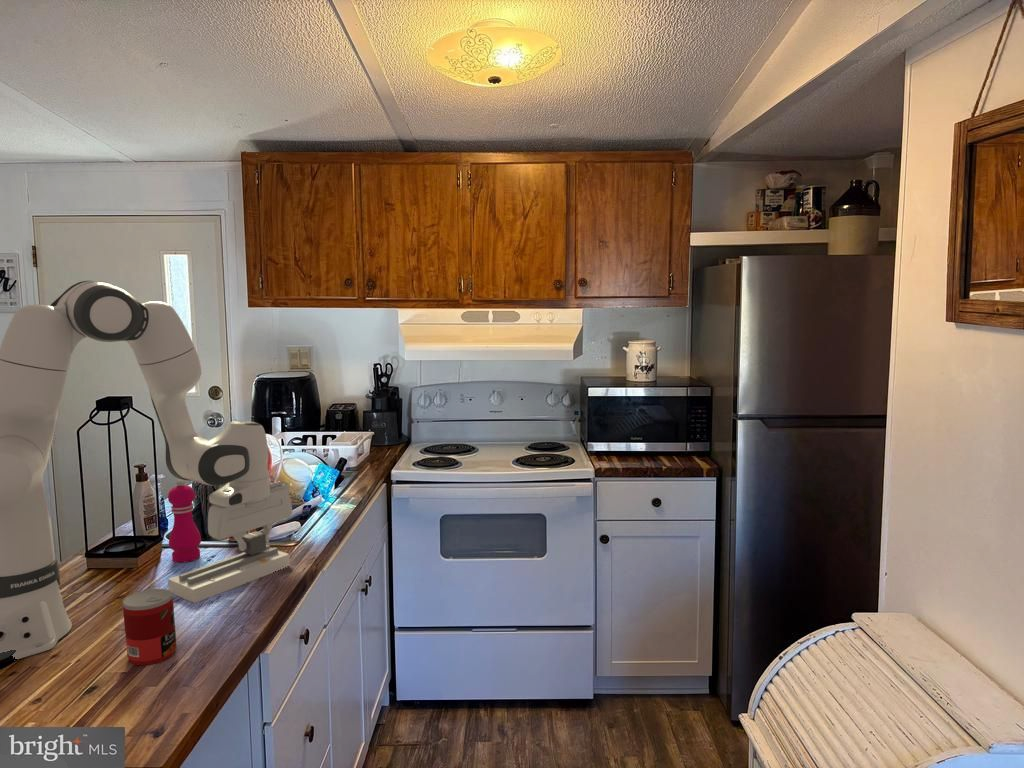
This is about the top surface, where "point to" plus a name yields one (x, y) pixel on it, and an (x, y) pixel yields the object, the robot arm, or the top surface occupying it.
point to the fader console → (227, 574)
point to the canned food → (149, 626)
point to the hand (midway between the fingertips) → (254, 546)
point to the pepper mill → (183, 524)
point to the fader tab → (255, 542)
